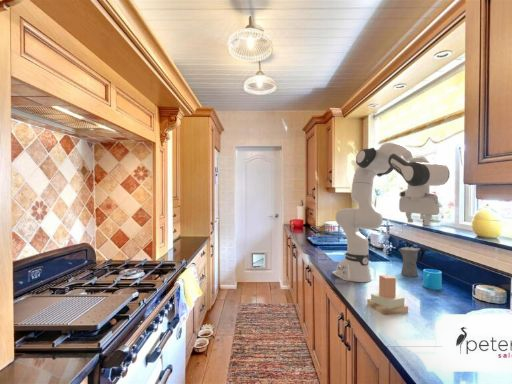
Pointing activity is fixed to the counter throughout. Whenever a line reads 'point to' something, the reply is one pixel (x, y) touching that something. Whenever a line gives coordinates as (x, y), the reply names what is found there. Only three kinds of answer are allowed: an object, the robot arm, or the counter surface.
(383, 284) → the tall block
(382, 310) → the tower base
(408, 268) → the coffeepot
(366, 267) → the robot arm
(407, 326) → the counter surface
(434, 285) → the mug
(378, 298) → the tower top
